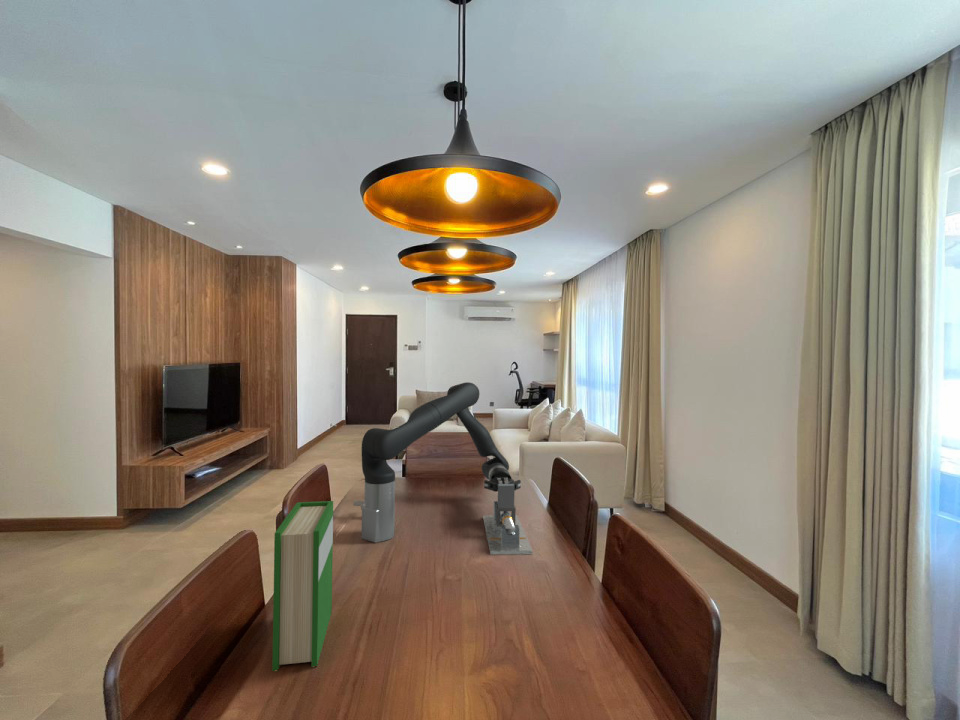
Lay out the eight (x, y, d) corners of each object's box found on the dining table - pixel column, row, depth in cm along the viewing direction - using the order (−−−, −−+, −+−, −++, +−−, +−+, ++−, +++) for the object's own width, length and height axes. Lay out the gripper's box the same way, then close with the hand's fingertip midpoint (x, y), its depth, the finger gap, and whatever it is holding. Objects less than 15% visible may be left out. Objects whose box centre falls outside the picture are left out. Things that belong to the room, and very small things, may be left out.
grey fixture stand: (483, 518, 158) (483, 496, 158) (517, 517, 158) (517, 495, 158) (490, 554, 128) (490, 527, 128) (532, 554, 128) (532, 526, 128)
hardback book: (317, 667, 80) (319, 530, 80) (272, 671, 78) (274, 533, 79) (331, 612, 97) (333, 500, 97) (295, 615, 96) (297, 502, 96)
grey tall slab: (496, 524, 143) (496, 483, 143) (514, 524, 143) (514, 483, 143) (496, 526, 141) (497, 485, 141) (515, 526, 141) (515, 485, 141)
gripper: (481, 467, 160) (484, 479, 143) (518, 467, 161) (526, 479, 144) (481, 488, 160) (484, 503, 143) (518, 488, 161) (526, 503, 143)
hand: (505, 491), depth 143 cm, fingers closed
